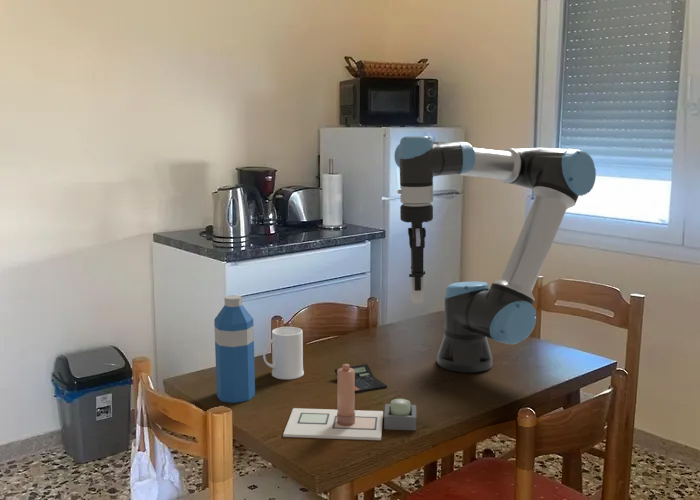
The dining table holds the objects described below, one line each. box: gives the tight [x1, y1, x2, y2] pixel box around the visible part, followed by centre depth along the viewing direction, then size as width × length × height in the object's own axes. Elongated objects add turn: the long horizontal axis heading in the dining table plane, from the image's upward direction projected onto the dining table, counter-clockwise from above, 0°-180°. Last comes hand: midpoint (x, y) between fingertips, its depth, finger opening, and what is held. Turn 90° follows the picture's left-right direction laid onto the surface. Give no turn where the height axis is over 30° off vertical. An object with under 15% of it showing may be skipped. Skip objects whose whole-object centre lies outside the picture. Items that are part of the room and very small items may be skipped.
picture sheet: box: [282, 407, 384, 441], centre depth 160 cm, size 21×14×1 cm, turn 86°
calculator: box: [334, 363, 388, 394], centre depth 185 cm, size 9×12×3 cm
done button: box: [390, 398, 412, 415], centre depth 160 cm, size 4×4×4 cm
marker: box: [336, 363, 356, 426], centre depth 158 cm, size 4×4×13 cm
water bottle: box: [213, 294, 256, 404], centre depth 174 cm, size 9×9×25 cm
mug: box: [262, 326, 305, 381], centre depth 189 cm, size 12×8×12 cm
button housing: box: [383, 403, 417, 431], centre depth 160 cm, size 7×7×3 cm
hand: (417, 302), depth 170 cm, fingers closed
